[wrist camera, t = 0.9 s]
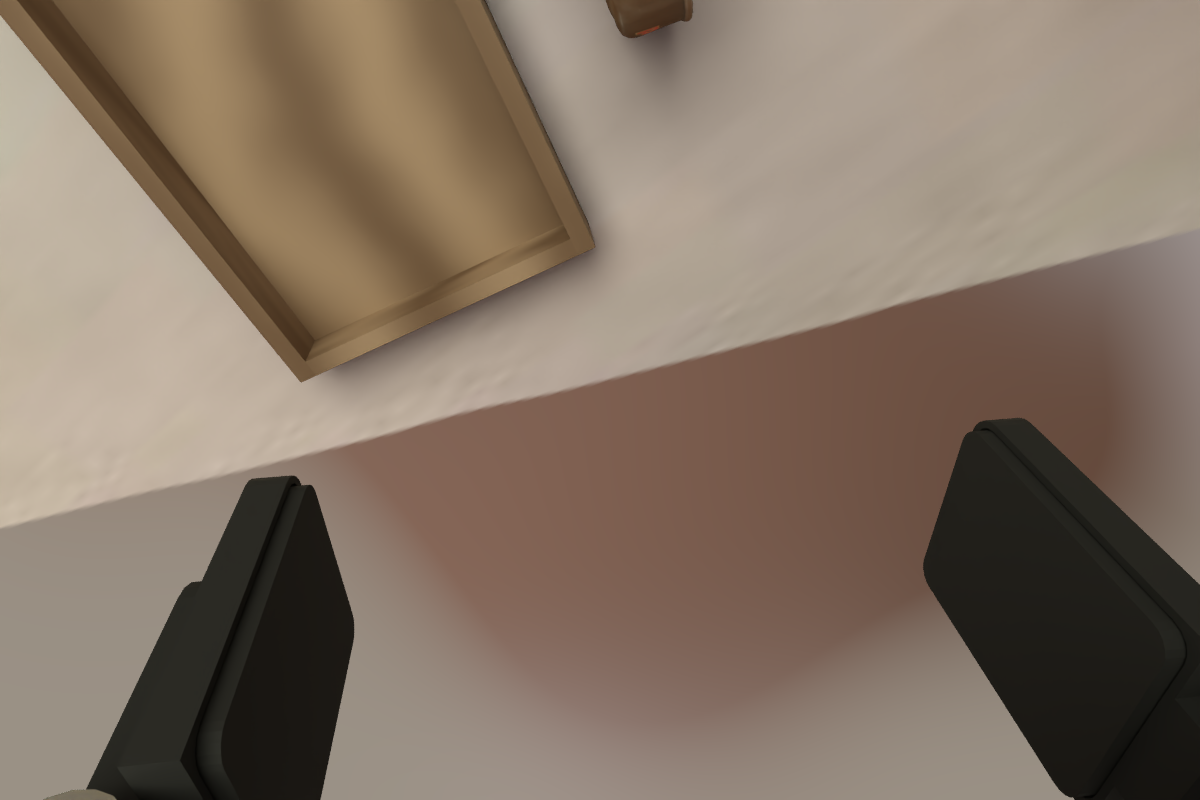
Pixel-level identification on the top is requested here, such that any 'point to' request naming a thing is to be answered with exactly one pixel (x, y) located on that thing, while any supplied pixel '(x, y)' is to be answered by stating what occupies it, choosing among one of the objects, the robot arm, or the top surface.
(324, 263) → the walnut tray
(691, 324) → the top surface
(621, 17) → the tin
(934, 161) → the top surface
